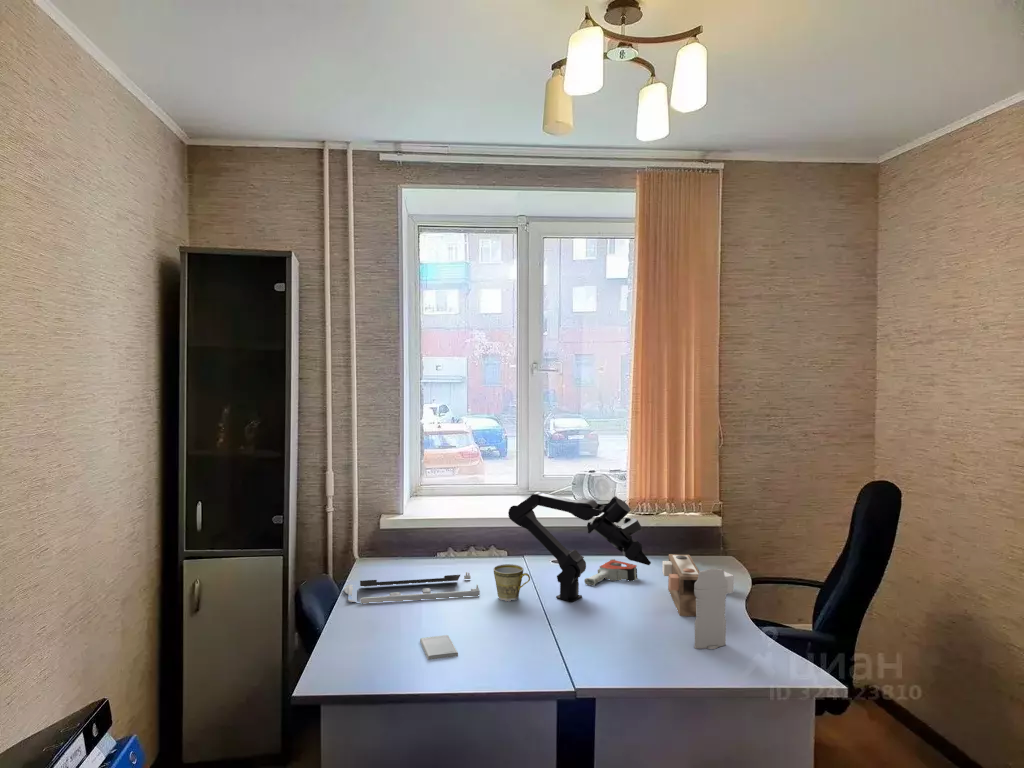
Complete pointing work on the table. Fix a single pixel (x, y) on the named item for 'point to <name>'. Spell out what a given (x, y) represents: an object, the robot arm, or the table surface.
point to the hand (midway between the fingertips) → (645, 560)
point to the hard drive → (438, 647)
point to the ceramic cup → (509, 581)
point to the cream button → (667, 568)
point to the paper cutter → (425, 595)
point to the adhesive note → (729, 581)
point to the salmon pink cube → (674, 582)
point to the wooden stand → (684, 584)
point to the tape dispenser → (613, 572)
